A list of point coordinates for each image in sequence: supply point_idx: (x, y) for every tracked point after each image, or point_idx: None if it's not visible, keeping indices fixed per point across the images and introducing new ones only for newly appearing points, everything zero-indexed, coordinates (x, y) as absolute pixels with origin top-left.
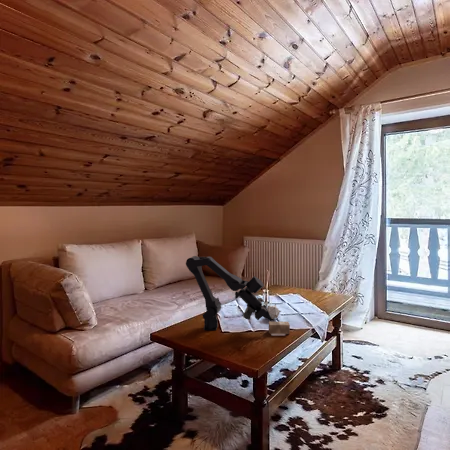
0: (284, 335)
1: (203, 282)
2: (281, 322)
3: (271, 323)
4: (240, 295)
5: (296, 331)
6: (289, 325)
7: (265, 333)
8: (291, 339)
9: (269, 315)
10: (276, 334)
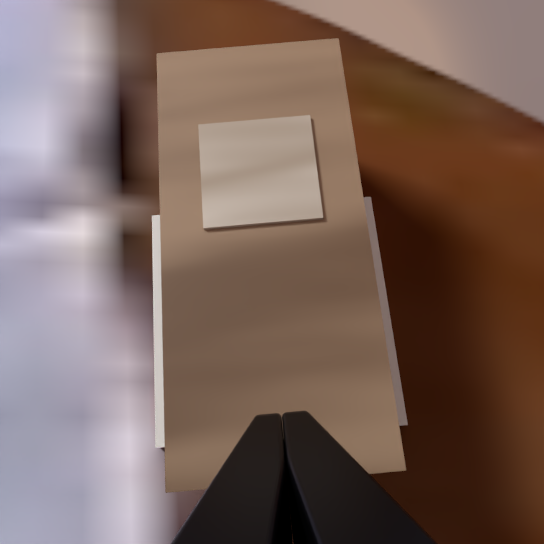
0: (372, 216)
1: None
2: (221, 181)
3: None
4: None
5: None
6: (337, 50)
7: None
8: (490, 133)
9: (402, 518)
10: (388, 334)
